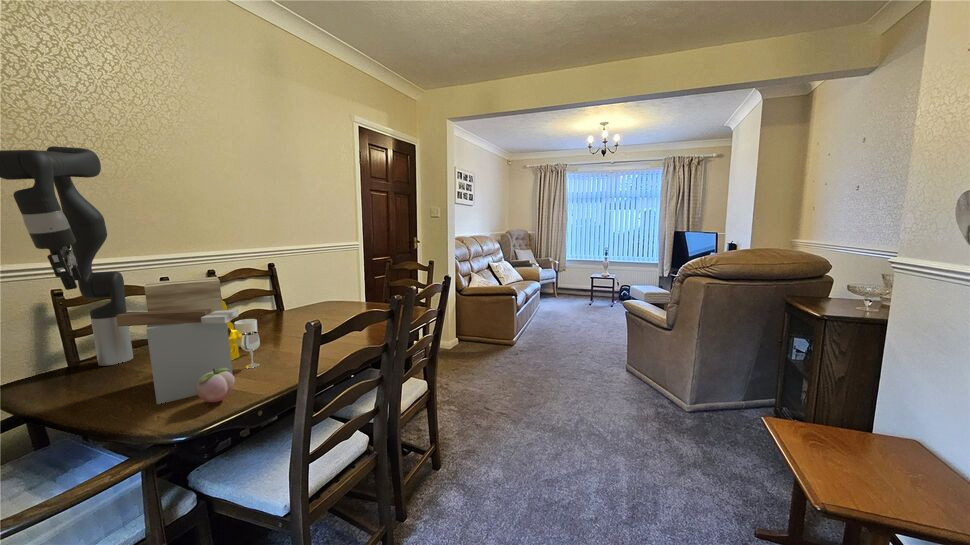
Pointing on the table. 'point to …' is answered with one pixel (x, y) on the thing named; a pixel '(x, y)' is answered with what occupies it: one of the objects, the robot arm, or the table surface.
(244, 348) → the wineglass
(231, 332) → the figure statuette
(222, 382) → the decorative fruit
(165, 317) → the brown block
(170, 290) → the oak stand
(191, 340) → the grey block
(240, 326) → the white cup
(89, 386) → the table surface
